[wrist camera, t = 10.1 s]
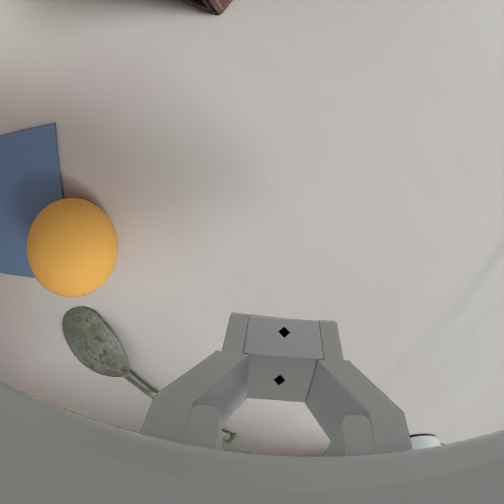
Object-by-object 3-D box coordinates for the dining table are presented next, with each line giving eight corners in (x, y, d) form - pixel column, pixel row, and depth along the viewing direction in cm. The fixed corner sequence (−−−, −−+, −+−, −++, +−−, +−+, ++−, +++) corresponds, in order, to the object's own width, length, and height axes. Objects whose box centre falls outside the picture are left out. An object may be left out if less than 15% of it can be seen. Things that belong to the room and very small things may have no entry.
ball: (50, 329, 15) (66, 277, 20) (132, 296, 16) (134, 247, 21) (-5, 247, 12) (28, 208, 17) (83, 200, 13) (100, 171, 18)
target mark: (82, 281, 22) (81, 283, 21) (-9, 270, 22) (-11, 271, 22) (55, 123, 16) (53, 123, 16) (-37, 148, 16) (-39, 148, 16)
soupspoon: (88, 283, 23) (59, 314, 26) (67, 307, 20) (41, 336, 23) (254, 425, 30) (211, 437, 32) (251, 452, 27) (205, 460, 29)
